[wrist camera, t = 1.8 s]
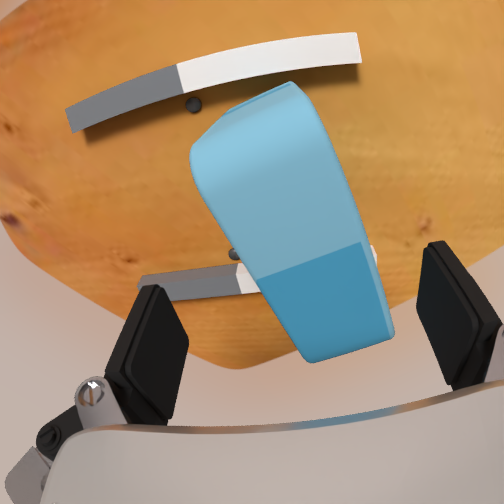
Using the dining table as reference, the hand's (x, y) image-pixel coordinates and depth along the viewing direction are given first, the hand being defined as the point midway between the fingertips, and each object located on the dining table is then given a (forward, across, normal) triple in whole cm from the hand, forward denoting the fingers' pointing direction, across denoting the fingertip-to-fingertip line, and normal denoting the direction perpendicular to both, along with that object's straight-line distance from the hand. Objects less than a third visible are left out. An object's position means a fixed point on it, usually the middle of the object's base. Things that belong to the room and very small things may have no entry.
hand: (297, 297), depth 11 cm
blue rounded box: (+13, -1, 0) cm, 13 cm away
